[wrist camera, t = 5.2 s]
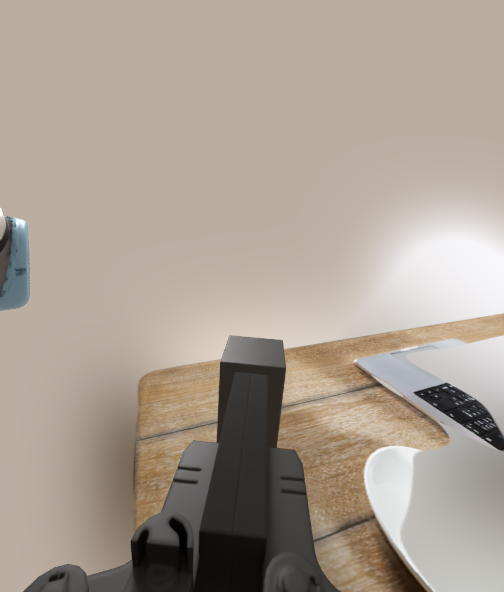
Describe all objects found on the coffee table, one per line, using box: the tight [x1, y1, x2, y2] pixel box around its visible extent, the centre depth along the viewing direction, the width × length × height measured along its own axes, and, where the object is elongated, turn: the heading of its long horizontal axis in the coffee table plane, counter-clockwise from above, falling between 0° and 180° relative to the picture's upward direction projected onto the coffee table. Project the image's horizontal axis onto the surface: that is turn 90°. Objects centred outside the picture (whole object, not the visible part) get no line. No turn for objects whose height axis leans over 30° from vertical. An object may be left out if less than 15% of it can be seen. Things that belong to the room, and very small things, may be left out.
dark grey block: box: [217, 335, 286, 448], centre depth 22 cm, size 4×4×12 cm
